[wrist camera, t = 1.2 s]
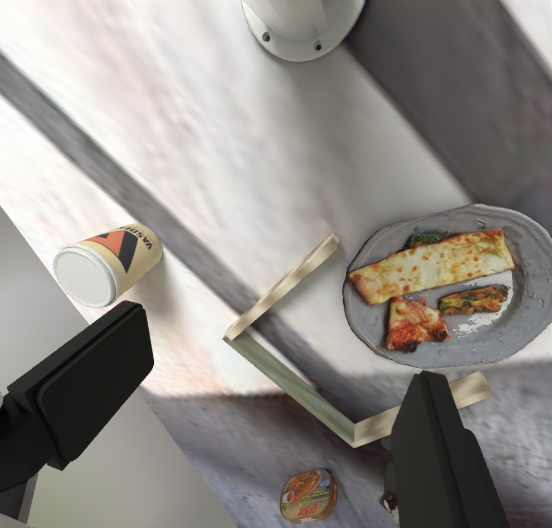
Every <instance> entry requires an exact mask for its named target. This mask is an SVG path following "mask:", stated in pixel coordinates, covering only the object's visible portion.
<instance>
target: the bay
mask: <svg viewBox="0 0 552 528" xmlns="http://www.w3.org/2000/svg"><path fill="white" fill-rule="evenodd" d="M338 245H339V238H338V237H337V236H336V235H335V234H334V233H332V234H331V235H330V236H329V237H328V238H327V239H326V240H325V241H324V242H322V243H321V244H320V245H319V246H318V247H317V248H316V249H315V250H314V251H313V252H311V253H310V254H309V255H308V256H307V257H306V258H305V259H304V260H303V261H302V262H300V263H299V264H298V265H297V266H296V267H295V268H294V269H293V270H292V271H291V272H289V273H288V274H287V275H286V276H285V277H284V278H283V279H282V280H281V281H280V282H278V283H277V284H276V285H275V286H274V287H273V288H272V289H271V290H270V291H269V292H267V293H266V294H265V295H264V296H263V297H262V298H261V299H260V300H259V301H257V302H256V303H255V304H254V305H253V306H252V307H251V308H250V309H249V310H248V311H246V312H245V313H244V314H243V315H242V316H241V317H240V318H239V319H238V320H237V321H235V322H234V323H233V324H232V325H231V326H230V328H229V329H228V331H227V332H226V334H225V336H224V337H223V339H222V340H224V341H225V342H226V343H227V344H229V345H230V346H231V347H232V348H233V349H235V350H236V351H237V352H238V353H239V354H241V355H242V356H243V357H244V358H245V359H247V360H248V361H249V362H250V363H252V364H253V365H254V366H255V367H256V368H258V369H259V370H260V371H261V372H262V373H264V374H265V375H266V376H267V377H268V378H270V379H271V380H272V381H273V382H275V383H276V384H277V385H278V386H279V387H281V388H282V389H283V390H284V391H285V392H287V393H288V394H289V395H290V396H292V397H293V398H294V399H295V400H296V401H298V402H299V403H300V404H301V405H302V406H304V407H305V408H306V409H307V410H308V411H310V412H311V413H312V414H313V415H315V416H316V417H317V418H318V419H319V420H321V421H322V422H323V423H324V424H325V425H327V426H328V427H329V428H330V429H331V430H333V431H334V432H335V433H336V434H338V435H339V436H340V437H341V438H342V439H344V440H345V441H346V442H347V443H348V444H350V445H351V446H352V447H353V448H356V447H358V446H361V445H364V444H366V443H369V442H372V441H374V440H377V439H380V438H382V437H385V436H388V435H390V434H391V429H392V426H393V424H394V421H395V419H396V417H397V414H398V412H399V409H400V407H401V405H402V404H400V405H398V406H396V407H393V408H391V409H389V410H386V411H384V412H382V413H379V414H377V415H375V416H372V417H370V418H368V419H365V420H363V421H361V422H358V423H356V424H354V423H353V422H351V421H350V420H349V419H348V418H347V417H346V416H344V415H343V414H342V413H341V412H340V411H338V410H337V409H336V408H335V407H334V406H332V405H331V404H330V403H329V402H328V401H326V400H325V399H324V398H323V397H322V396H321V395H319V394H318V393H317V392H316V391H315V390H313V389H312V388H311V387H310V386H309V385H307V384H306V383H305V382H304V381H303V380H302V379H300V378H299V377H298V376H297V375H296V374H294V373H293V372H292V371H291V370H290V369H288V368H287V367H286V366H285V365H284V364H283V363H281V362H280V361H279V360H278V359H277V358H275V357H274V356H273V355H272V354H271V353H269V352H268V351H267V350H266V349H265V348H264V347H262V346H261V345H260V344H259V343H258V342H256V341H255V340H254V339H253V338H252V337H250V336H249V335H248V334H247V333H246V332H245V331H243V330H244V329H246V328H247V327H248V326H249V325H250V324H251V323H252V322H254V321H255V320H256V319H257V318H258V317H259V316H261V315H262V314H263V313H264V312H265V311H266V310H268V309H269V308H270V307H271V306H272V305H273V304H275V303H276V302H277V301H278V300H279V299H280V298H282V297H283V296H284V295H285V294H286V293H287V292H289V291H290V290H291V289H292V288H293V287H294V286H296V285H297V284H298V283H299V282H300V281H301V280H303V279H304V278H305V277H306V276H307V275H308V274H310V273H311V272H312V271H313V270H314V269H315V268H317V267H318V266H319V265H320V264H321V263H322V262H324V261H325V260H326V259H327V258H328V257H329V256H330V255H332V254H333V253H334V252H335V251H336V250H337V249H338ZM449 387H450V390H451V392H452V395H453V398H454V401H455V404H456V407H457V409H460V408H463V407H465V406H468V405H471V404H473V403H476V402H479V401H481V400H484V399H487V398H489V397H492V396H493V394H492V392H491V390H490V388H489V386H488V384H487V382H486V380H485V378H484V376H483V375H482V374H481V373H480V372H479V371H477V372H475V373H473V374H470V375H468V376H466V377H463V378H461V379H459V380H456V381H454V382H452V383H449Z"/></svg>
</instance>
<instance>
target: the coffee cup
mask: <svg viewBox="0 0 552 528" xmlns="http://www.w3.org/2000/svg"><path fill="white" fill-rule="evenodd" d="M161 257H162V245H161V242H160V240H159V239H158V237H157V236H156V234H155V233H154V232H153V231H152V230H150V229H149V228H148V227H146V226H144V225H141V224H129V225H126V226H123V227H120V228H117V229H115V230H112V231H109V232H106V233H103V234H100V235H98V236H95V237H92V238H89V239H86V240H84V241H81V242H78V243H76V244H71V245H67V246H65V247H63V248H62V249H60V251H59V252H58V253H57V254H56V256H55V258H54V261H53V269H54V273H55V276H56V278H57V280H58V282H59V284H60V285H61V287H62V288H63V289H64V291H65V292H66V293H67V294H68V295H69V296H70V297H72V298H73V299H74V300H76V301H77V302H79V303H80V304H82V305H85V306H87V307H91V308H102V307H107V306H109V305H111V304H113V303H114V302H115V301H116V300H117V298H118V297H119V296H121V295H122V294H123V293H124V292H126V291H127V290H128V289H129V288H130V287H131V286H132V285H134V284H135V283H136V282H137V281H138V280H139V279H141V278H142V277H143V276H144V275H145V274H146V273H147V272H149V271H150V270H151V269H152V268H153V267H154V266H155V265H156V264H157V263H158V262H159V261H160V260H161Z"/></svg>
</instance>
